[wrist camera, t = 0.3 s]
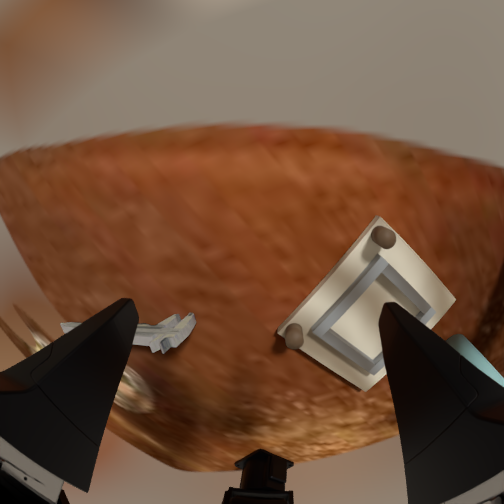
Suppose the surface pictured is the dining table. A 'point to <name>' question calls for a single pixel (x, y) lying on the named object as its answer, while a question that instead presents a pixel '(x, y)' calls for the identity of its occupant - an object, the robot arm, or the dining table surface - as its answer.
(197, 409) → the dining table surface
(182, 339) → the caliper
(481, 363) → the pin
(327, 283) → the board
